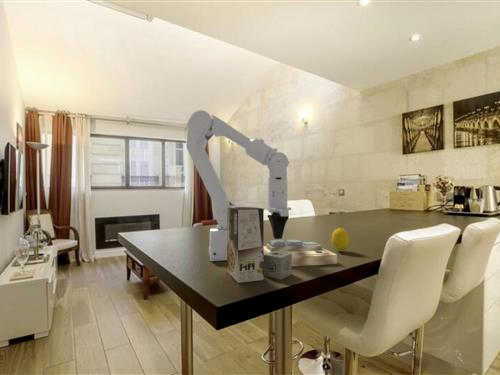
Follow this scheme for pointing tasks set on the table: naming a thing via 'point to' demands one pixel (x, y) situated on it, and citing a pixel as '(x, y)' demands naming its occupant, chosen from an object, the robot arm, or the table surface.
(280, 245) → the button left
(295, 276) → the table surface
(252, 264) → the coffee box
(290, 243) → the button middle
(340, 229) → the lemon
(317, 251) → the button board
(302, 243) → the button right
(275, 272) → the dice cube
